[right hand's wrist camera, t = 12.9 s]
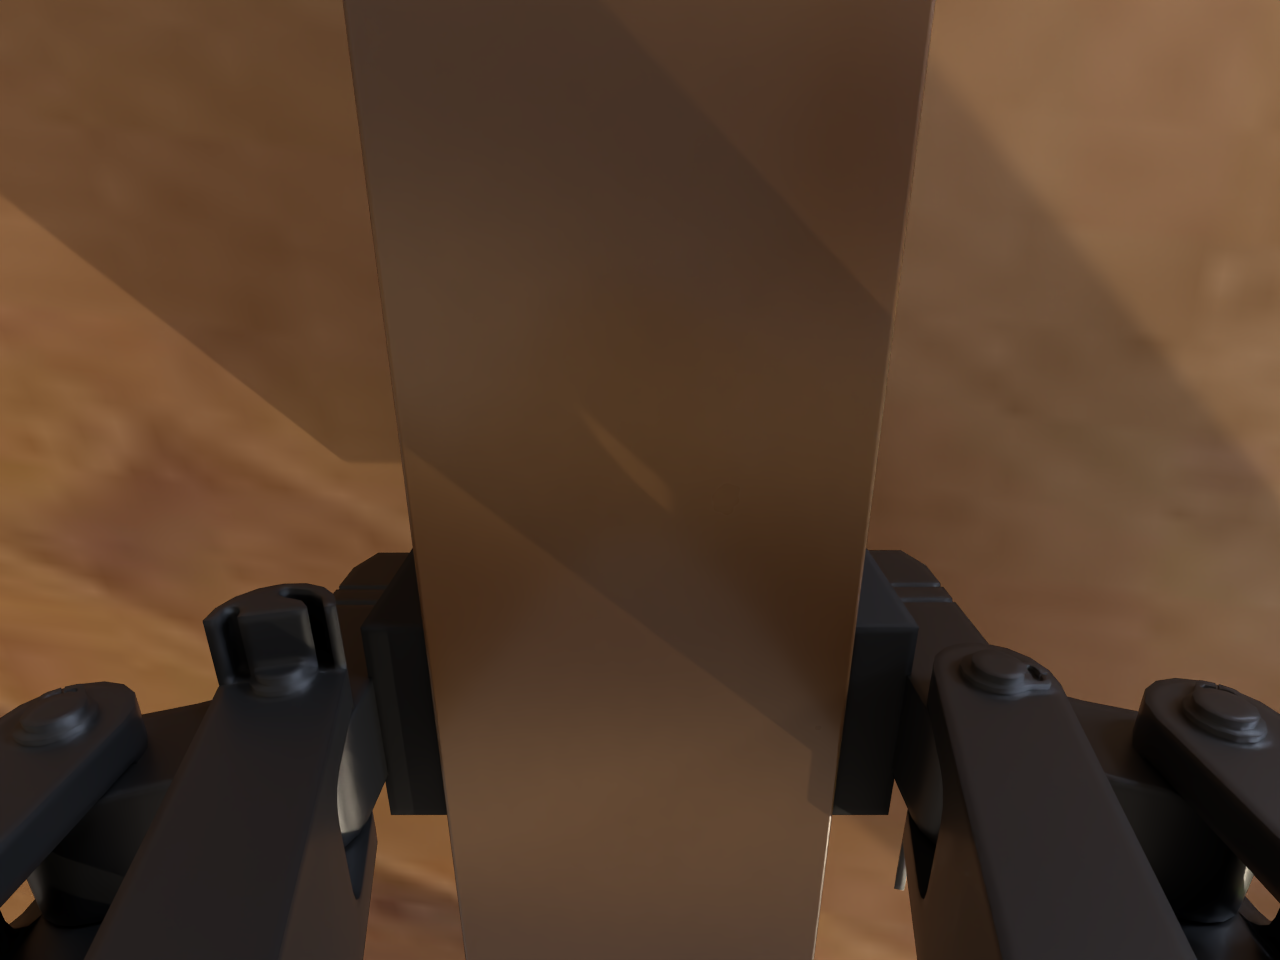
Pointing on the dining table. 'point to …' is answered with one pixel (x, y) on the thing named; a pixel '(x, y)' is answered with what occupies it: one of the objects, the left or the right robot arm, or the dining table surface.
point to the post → (639, 438)
